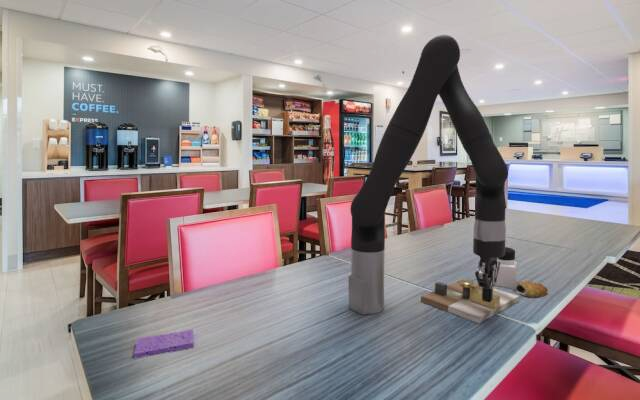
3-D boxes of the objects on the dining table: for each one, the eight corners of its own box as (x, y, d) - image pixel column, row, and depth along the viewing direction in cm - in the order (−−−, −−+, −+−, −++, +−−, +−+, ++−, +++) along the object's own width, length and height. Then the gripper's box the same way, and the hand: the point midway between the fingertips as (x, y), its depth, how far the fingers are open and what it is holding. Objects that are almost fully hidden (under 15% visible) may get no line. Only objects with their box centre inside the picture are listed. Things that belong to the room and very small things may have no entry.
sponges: (194, 350, 85) (193, 342, 85) (133, 360, 81) (132, 352, 81) (193, 335, 91) (193, 328, 91) (137, 345, 87) (136, 337, 87)
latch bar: (456, 296, 108) (457, 281, 107) (463, 293, 110) (464, 279, 109) (493, 308, 99) (494, 293, 98) (500, 305, 101) (501, 289, 101)
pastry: (536, 288, 119) (536, 276, 118) (553, 296, 112) (554, 284, 112) (511, 291, 117) (511, 279, 116) (527, 299, 110) (528, 287, 110)
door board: (478, 323, 95) (479, 304, 94) (420, 301, 109) (421, 285, 108) (518, 301, 108) (519, 284, 108) (462, 284, 122) (463, 269, 122)
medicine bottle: (516, 282, 124) (518, 247, 122) (514, 289, 118) (516, 252, 116) (492, 278, 128) (494, 244, 126) (489, 284, 122) (491, 249, 120)
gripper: (482, 230, 103) (480, 290, 105) (465, 239, 93) (463, 305, 95) (512, 233, 98) (509, 296, 100) (497, 243, 88) (494, 313, 90)
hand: (487, 300), depth 98 cm, fingers closed
